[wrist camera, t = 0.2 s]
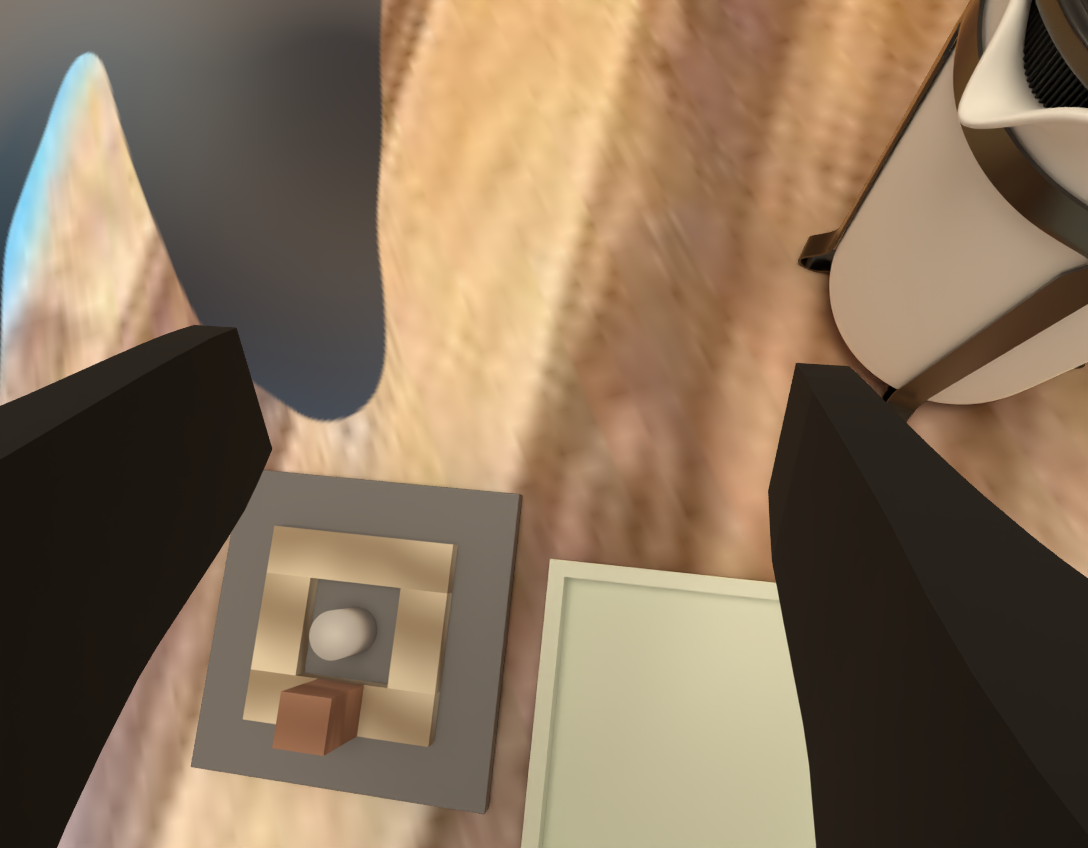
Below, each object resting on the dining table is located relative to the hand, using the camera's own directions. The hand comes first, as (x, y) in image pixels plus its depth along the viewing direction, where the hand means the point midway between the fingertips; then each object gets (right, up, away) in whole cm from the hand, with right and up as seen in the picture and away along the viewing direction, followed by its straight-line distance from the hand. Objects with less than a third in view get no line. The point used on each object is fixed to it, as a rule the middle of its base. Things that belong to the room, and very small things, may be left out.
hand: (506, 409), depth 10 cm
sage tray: (+8, -16, +28) cm, 33 cm away
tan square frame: (-10, -11, +30) cm, 33 cm away
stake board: (-9, -11, +31) cm, 34 cm away
